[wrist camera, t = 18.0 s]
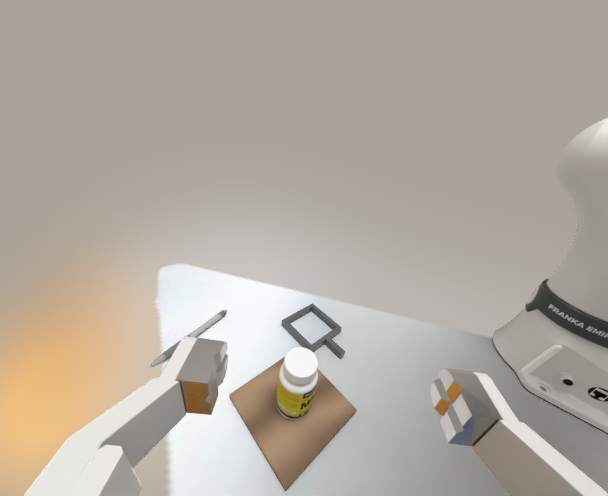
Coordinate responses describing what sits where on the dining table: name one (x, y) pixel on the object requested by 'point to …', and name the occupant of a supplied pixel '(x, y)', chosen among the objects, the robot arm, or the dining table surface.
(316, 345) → the grey frame with handle
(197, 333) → the pen
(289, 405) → the supplement bottle
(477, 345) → the dining table surface
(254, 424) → the pad
